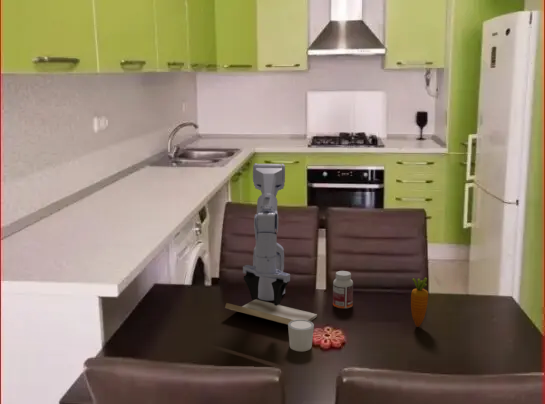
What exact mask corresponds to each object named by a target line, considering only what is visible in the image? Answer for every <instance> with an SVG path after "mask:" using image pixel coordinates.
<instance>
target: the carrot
mask: <svg viewBox="0 0 545 404" xmlns="http://www.w3.org/2000/svg"><path fill="white" fill-rule="evenodd" d="M411 280H412V282H413V284H414V286H415V288H413V289H412V291H411V294H410V308H411V309H410V310H411V316H412V317H411V318H412V320H413V322H414V325H415V326H416V327H417V328H419V327H420V326H421V325H422V323H423V322H424V320H425V316H426V313H427V308H428V303H429V291H428V290H427V289H425V287H426V286H427V285H428V284H427V280H428V278H427V277H424V278H423V279H420V278H417V279H416V278H412V279H411Z"/></svg>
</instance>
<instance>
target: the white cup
mask: <svg viewBox="0 0 545 404" xmlns="http://www.w3.org/2000/svg"><path fill="white" fill-rule="evenodd" d="M287 328H288V341H289V347H290V349H291V350H292V351H296V352H306V351H310V350H311V349H312V347H313V346H312V345H313V337H314V329H315V324H314V323H313V322H312V321H307V320H294V321H291V322H289V323H288V325H287Z"/></svg>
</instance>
